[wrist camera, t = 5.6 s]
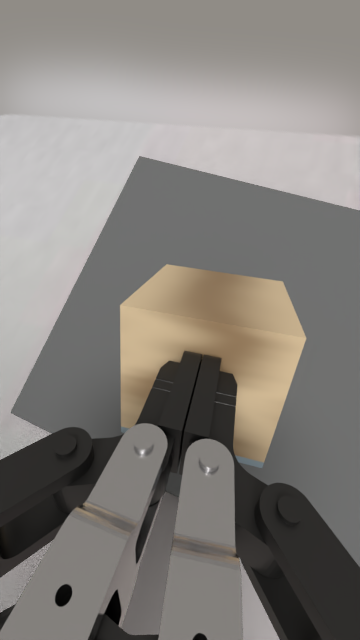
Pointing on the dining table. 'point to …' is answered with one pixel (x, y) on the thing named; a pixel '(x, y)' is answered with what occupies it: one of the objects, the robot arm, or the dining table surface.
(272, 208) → the mat
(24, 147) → the dining table surface
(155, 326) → the cube
